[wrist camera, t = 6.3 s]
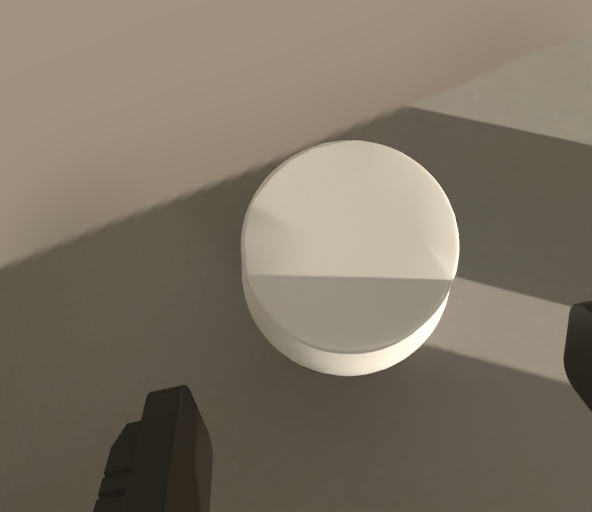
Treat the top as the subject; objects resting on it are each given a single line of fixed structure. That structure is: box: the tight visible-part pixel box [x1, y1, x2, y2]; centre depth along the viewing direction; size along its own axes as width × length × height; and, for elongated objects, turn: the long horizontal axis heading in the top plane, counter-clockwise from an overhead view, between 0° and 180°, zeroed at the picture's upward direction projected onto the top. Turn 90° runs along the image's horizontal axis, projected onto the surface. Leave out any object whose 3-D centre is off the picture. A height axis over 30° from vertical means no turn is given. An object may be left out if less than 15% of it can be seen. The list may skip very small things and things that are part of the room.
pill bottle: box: [241, 140, 459, 376], centre depth 15 cm, size 6×6×10 cm
